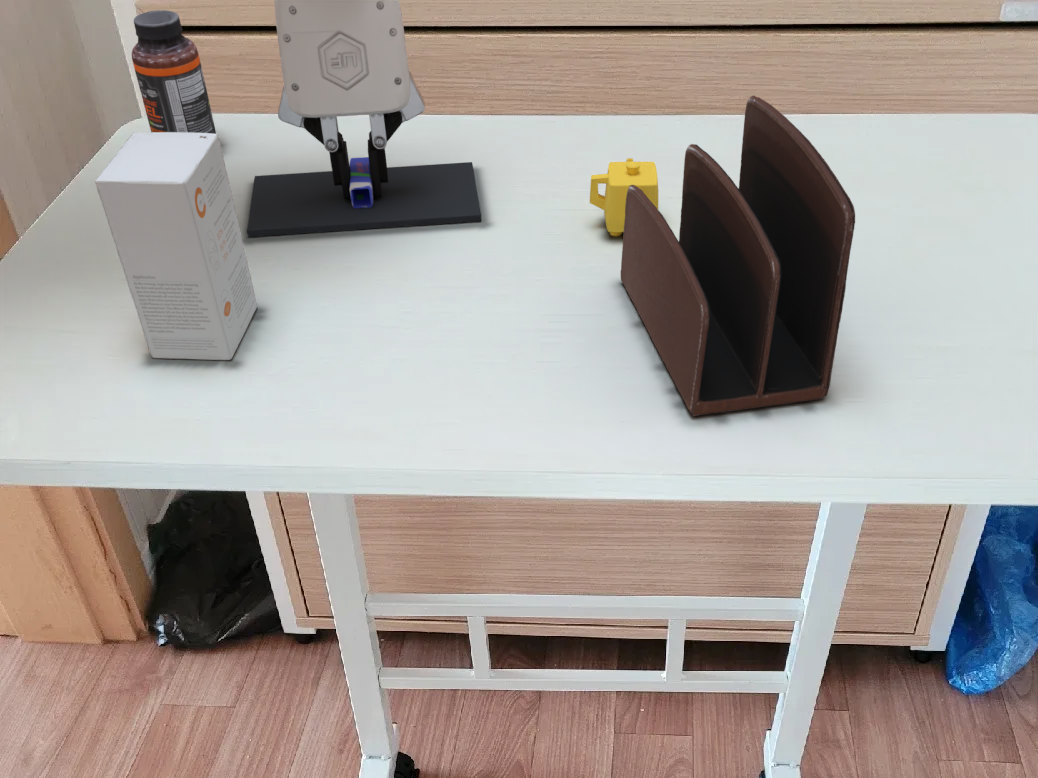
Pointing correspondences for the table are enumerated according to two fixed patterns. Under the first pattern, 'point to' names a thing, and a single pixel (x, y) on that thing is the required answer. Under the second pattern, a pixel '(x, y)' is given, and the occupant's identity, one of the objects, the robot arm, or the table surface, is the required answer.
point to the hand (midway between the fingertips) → (362, 190)
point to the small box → (179, 243)
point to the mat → (324, 209)
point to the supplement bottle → (170, 75)
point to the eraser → (361, 183)
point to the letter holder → (745, 271)
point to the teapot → (623, 190)
